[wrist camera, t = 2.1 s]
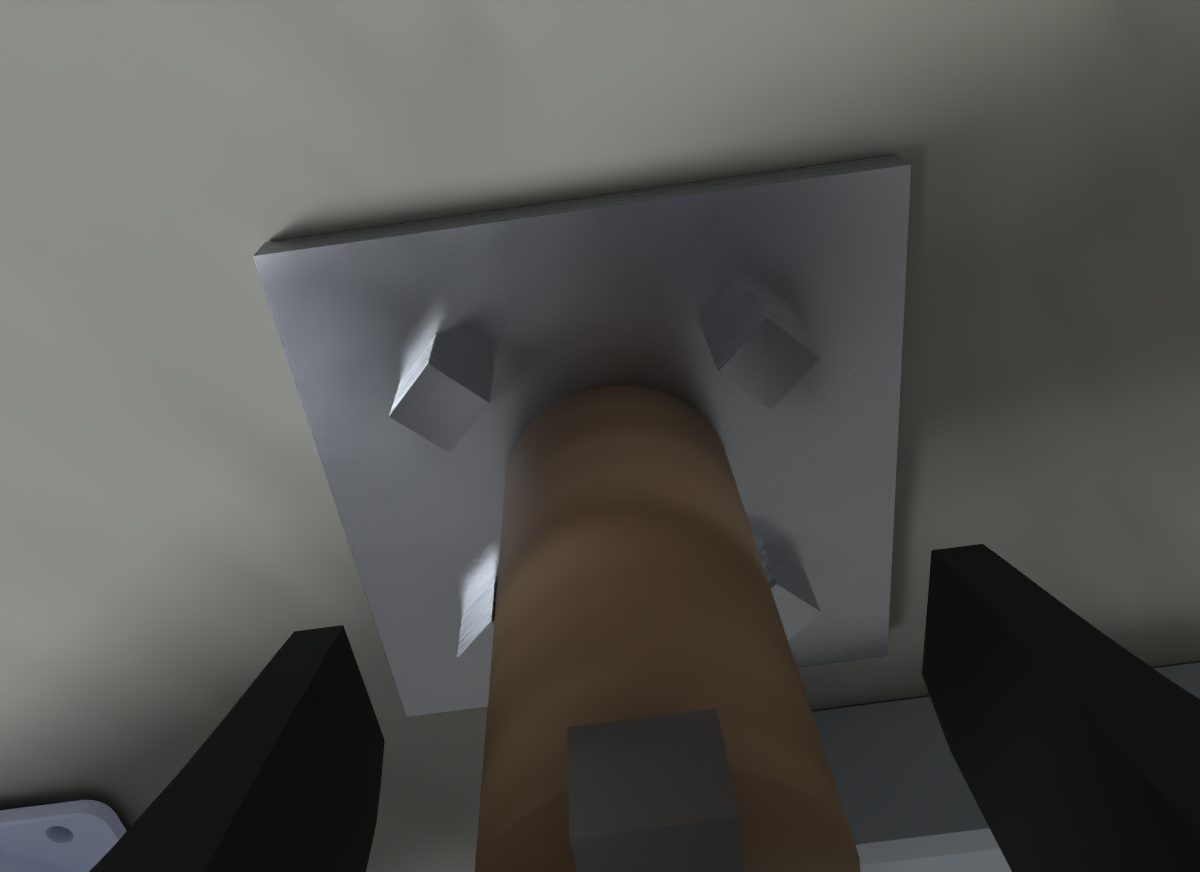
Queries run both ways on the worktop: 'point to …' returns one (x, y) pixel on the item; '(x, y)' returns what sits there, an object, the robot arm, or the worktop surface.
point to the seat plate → (601, 359)
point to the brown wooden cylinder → (643, 662)
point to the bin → (915, 786)
